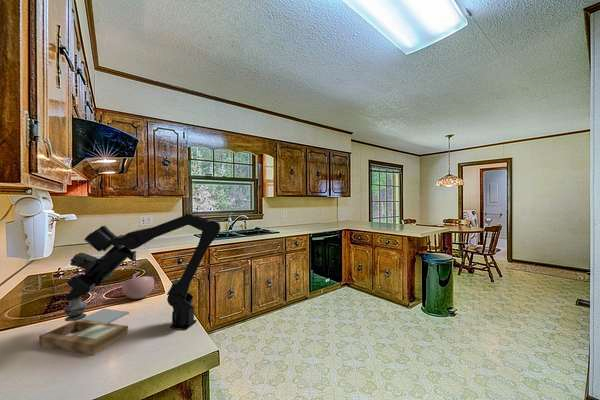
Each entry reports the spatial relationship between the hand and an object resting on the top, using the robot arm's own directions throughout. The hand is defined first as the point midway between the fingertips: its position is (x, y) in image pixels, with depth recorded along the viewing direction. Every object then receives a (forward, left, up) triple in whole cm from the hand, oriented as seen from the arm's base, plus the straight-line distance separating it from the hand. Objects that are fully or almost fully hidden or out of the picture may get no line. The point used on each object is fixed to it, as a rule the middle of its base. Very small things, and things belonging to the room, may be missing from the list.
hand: (70, 297), depth 84 cm
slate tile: (+3, -13, -13) cm, 18 cm away
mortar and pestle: (+6, -33, -13) cm, 36 cm away
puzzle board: (-6, 0, -13) cm, 14 cm away
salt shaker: (-1, -1, -7) cm, 7 cm away
